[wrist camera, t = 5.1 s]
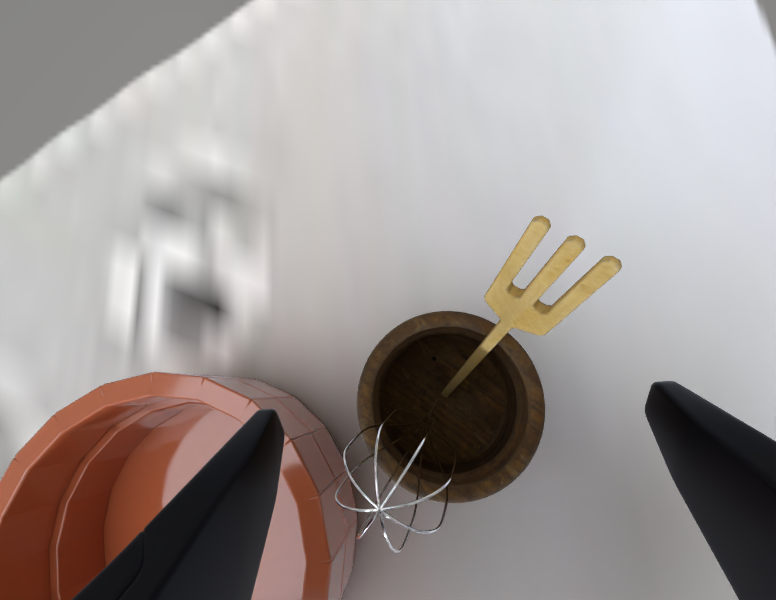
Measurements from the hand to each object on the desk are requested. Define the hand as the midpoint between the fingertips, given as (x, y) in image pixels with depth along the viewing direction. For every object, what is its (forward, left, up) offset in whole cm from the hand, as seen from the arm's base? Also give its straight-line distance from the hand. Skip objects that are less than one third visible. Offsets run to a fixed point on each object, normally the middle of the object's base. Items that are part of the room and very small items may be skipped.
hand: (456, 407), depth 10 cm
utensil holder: (0, 0, -8) cm, 8 cm away
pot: (-11, +1, -8) cm, 14 cm away
